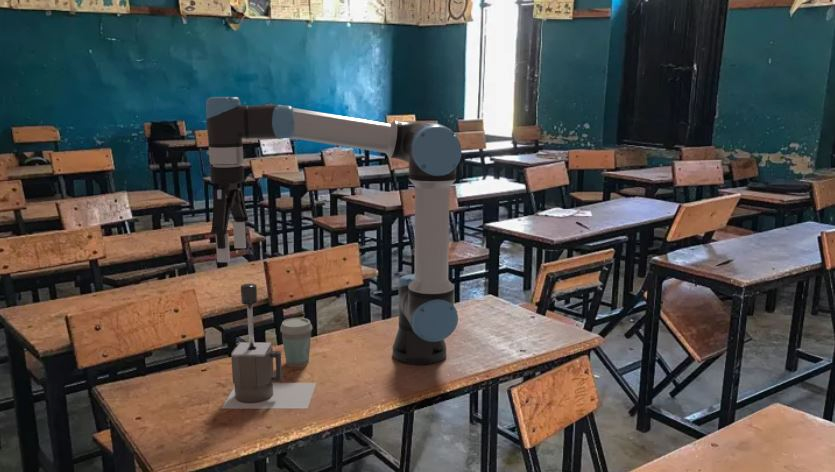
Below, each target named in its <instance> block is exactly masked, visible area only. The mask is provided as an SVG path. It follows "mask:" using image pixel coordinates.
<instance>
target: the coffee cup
mask: <svg viewBox="0 0 835 472" xmlns="http://www.w3.org/2000/svg"><path fill="white" fill-rule="evenodd" d="M312 330H313V325H312V322H311V320H310V319H308V318H303V317H291V318H287V319H284V320H282V323H281V325H280V329H279V331H280V333H281V338H282V345H283V350H284V355H285V356H284V358H285V362H286V363H285V364H286V365H287V366H289V367H290V368H300V367H305V366H306V365H307V366H308V364H309V362H310V361H309V360H310V351H311V338H312Z"/></svg>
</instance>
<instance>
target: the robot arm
mask: <svg viewBox="0 0 835 472" xmlns="http://www.w3.org/2000/svg"><path fill="white" fill-rule="evenodd" d="M205 105H206V106H205V107H206V108H205V109H206V110H205V112H206V113H205V114H206V116H205V117H206V118H205V121H206V132H207V140H208V144H207V145H208V150H207V151H206V155H209V164H211V165H212V166H210V168H209V173H210V174H209V177H210V181H211V183H213V184H218V189H214V191H213V207H212V208H213V210H212V224H211V230H210V234H211V235H215V248H216V261H217V263H230V262H231V256H230V254H231V252H230V239H229V233H228V232H227V231H228V227H229V219H230V213H231V215H232V219H233V222H232V229H233V230H232V231H233V233H232V234H233V247H234V249H246V248H247V239H246V223H245V222H248V221H249V217H248V213H247V212H248V211H247V208H246V204H245V199H244V195H243V188H242V187H243V186H242V183H243V182H244V181H245V168H244V166H243V165H242V164H244V163H245V162H244V149H243V140H245V139H246V140H247V139H278V140H281V139H295V140H299V141H300V140H301V141H308V142H314V143H320V144H326V145H333V146H339V147H345V148H346V147H347V148H352V149H359V150H365V151H371V152H377V153H384V154H385V155H387V157H388V158H389V159H390V158H391V159H397V160H401V161H404V162H406V163H408V180H409V181H410V183H412V185H413V186H414V273H412V274H406V275H402V276H401V277H399V280H398V286H397V289H398V329H397V333H396V336H395V338H394V342H393V345H392V357H393V358H394V359H395V360H397V361H398V362H401V363H403V364H408V365H419V366H420V365H421V366H422V365H431V364H436V363H439V362H442V361H444V359H446V357H447V343H446V341H445V340H446V339H447V338H449V337H450V336H451V335H452V334H453V333H454V332H455V330H456V329H457V326H458V323H459V314H458V311H457V308H456V306H455V304H454V303H455V286H454V284H453V283H452V282H451V281H450V280H449V253H450V252H449V251H450V249H449V247H450V245H449V244H450V240H449V239H450V196H451V195H450V191H451V190H450V188H451V185H453V183H455V182H456V180H457V166H458V164H459V163H460V161H461V158H462V145H461V141H460V140H459V137H458V135H456V133H455V132H454V131H453V130H451V129H450V128H449V127H447V126H445V125H443V124H441V123H435V122H434V123H432V122H429V121H428V122H427V121H426V122H423V121H422V122H420V121H418V122H414V121H413V122H410V121H399V120H393V121H392V122H390V123H387V122H381V121H375V120H368V119H365V118H364V119H363V118H357V117H351V116H343V115H340V114H339V115H338V114H333V113H326V112H321V111H314V110H307V109H302V108H295V107H292V106H291V105H282V104H275V103H269V102H268V103H263V104H260V105H244V104H243V105H242V103H241V100H240V98H239V97H238V96H212V97H211V96H210V97H209V98H207V100H206V102H205Z"/></svg>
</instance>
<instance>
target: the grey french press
mask: <svg viewBox="0 0 835 472" xmlns="http://www.w3.org/2000/svg"><path fill="white" fill-rule="evenodd" d="M254 348H255V350H249V341H248V342H246V341H245V342H244V341H243V342H239V343H238V344H237V345H236V346H235V347H234V348H233V350H232V351H231V353H230V357H231V371H232V372H231V373H232V384H234V387H235V398H236V400H237V401H239V402H242V403H259V402H263V401H266V400H268V399H270V398H271V397H272V396H273V383H274V382H281V381H282V379H283V372H282V351H281V350H273V346H272V342H254ZM274 358H275V370H274ZM274 371H275V372H274ZM274 373H275V374H274Z"/></svg>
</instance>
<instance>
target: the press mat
mask: <svg viewBox="0 0 835 472" xmlns="http://www.w3.org/2000/svg"><path fill="white" fill-rule="evenodd" d="M316 386H317V382H273V396H272V397H271V398H270V399H268V400H266V401H263V402H259V403H242V402H239V401H237V400H236V398H235V386H234V387H233V389H232V390H231V392H230V394H229V395H228V397H227V399H226V400H225V402H224V403H223V405H222V407H221V409H237V410H238V409H242V410H243V409H250V410H251V409H255V410H258V409H260V410H262V409H266V410H267V409H270V410H271V409H272V410H275V409H279V410H280V409H281V410H282V409H283V410H289V409H290V410H293V409H295V410H303V409H307V410H308V409H309V407H310V406H309V405H310V403H311V400H312V397H313V395H314V391H315V388H316Z"/></svg>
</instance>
